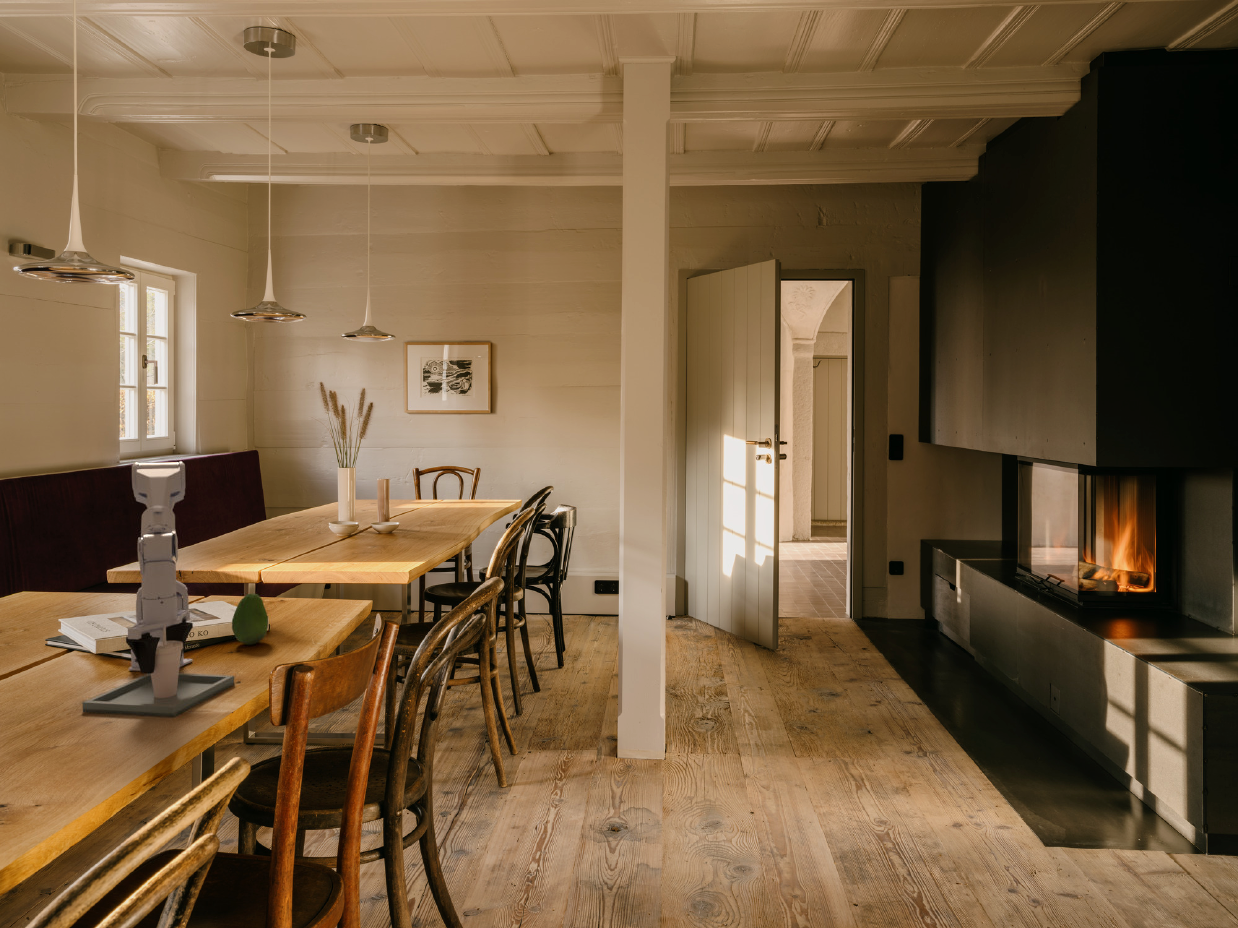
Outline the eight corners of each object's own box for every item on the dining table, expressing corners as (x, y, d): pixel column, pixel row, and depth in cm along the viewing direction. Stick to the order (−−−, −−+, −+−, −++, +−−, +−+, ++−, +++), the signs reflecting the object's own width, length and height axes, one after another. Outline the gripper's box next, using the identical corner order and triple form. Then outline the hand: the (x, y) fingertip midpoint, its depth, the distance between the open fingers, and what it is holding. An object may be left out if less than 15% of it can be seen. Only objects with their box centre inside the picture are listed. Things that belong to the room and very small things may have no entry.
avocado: (275, 639, 196) (274, 590, 195) (257, 649, 188) (256, 597, 187) (243, 638, 196) (242, 589, 196) (224, 647, 189) (223, 597, 188)
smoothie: (147, 702, 150) (145, 628, 150) (144, 693, 156) (142, 621, 155) (186, 696, 154) (184, 623, 153) (182, 686, 159) (180, 616, 158)
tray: (82, 711, 147) (82, 702, 147) (152, 680, 165) (152, 671, 165) (173, 716, 145) (173, 707, 145) (234, 684, 163) (234, 675, 163)
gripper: (151, 605, 146) (154, 679, 147) (203, 588, 160) (205, 656, 161) (116, 604, 147) (118, 677, 148) (170, 587, 161) (172, 655, 162)
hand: (161, 666), depth 155 cm, fingers open, 7 cm apart
